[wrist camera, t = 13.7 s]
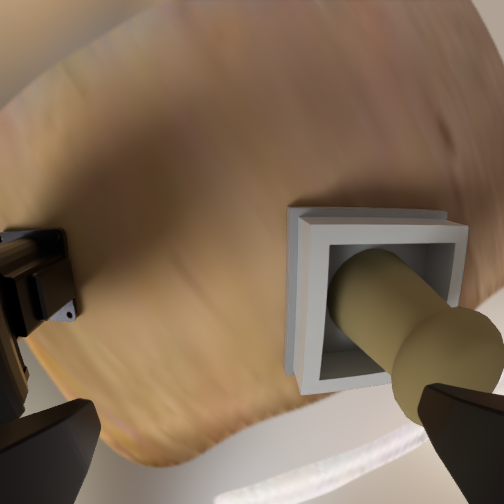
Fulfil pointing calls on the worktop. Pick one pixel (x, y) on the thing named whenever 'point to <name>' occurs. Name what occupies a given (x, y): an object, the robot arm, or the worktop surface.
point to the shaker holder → (329, 261)
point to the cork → (412, 329)
